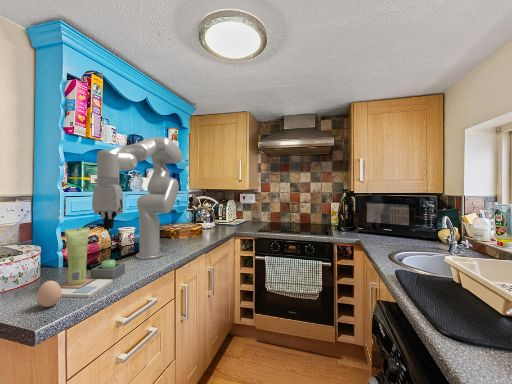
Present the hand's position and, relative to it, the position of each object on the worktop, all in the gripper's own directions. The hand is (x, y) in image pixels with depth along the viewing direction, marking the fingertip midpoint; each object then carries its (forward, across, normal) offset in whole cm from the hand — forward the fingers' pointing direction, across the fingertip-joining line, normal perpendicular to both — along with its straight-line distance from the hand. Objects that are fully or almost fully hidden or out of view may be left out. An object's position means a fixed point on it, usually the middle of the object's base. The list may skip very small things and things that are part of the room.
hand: (108, 228), depth 98 cm
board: (+19, -2, -12) cm, 23 cm away
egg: (+19, -3, -24) cm, 31 cm away
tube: (+18, -5, -10) cm, 21 cm away
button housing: (+19, 0, 0) cm, 19 cm away
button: (+17, 0, 0) cm, 17 cm away
